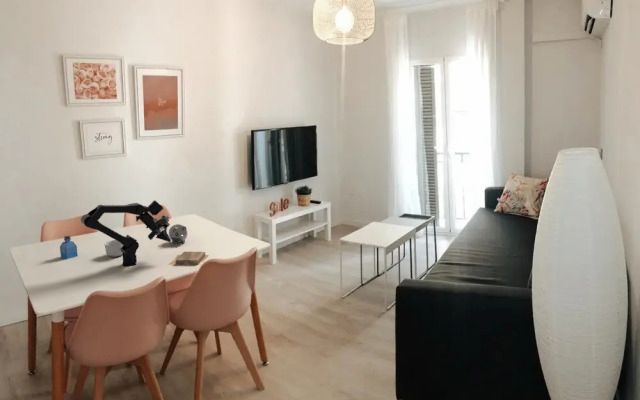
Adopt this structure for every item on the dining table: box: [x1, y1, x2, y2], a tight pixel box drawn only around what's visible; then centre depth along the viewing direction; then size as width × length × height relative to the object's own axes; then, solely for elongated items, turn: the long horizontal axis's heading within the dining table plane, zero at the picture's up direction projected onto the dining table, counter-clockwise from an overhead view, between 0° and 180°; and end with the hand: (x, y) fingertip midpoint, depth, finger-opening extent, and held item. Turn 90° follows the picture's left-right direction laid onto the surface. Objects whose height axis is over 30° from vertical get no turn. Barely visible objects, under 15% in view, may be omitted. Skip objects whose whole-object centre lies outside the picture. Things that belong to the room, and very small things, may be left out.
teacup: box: [104, 239, 123, 258], centre depth 280 cm, size 14×11×8 cm
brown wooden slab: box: [176, 251, 206, 266], centre depth 269 cm, size 2×15×12 cm
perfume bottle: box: [59, 235, 79, 260], centre depth 275 cm, size 6×6×12 cm
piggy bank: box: [168, 223, 188, 245], centre depth 303 cm, size 11×15×12 cm
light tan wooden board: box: [168, 254, 210, 266], centre depth 271 cm, size 18×17×1 cm
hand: (170, 241), depth 267 cm, fingers closed
